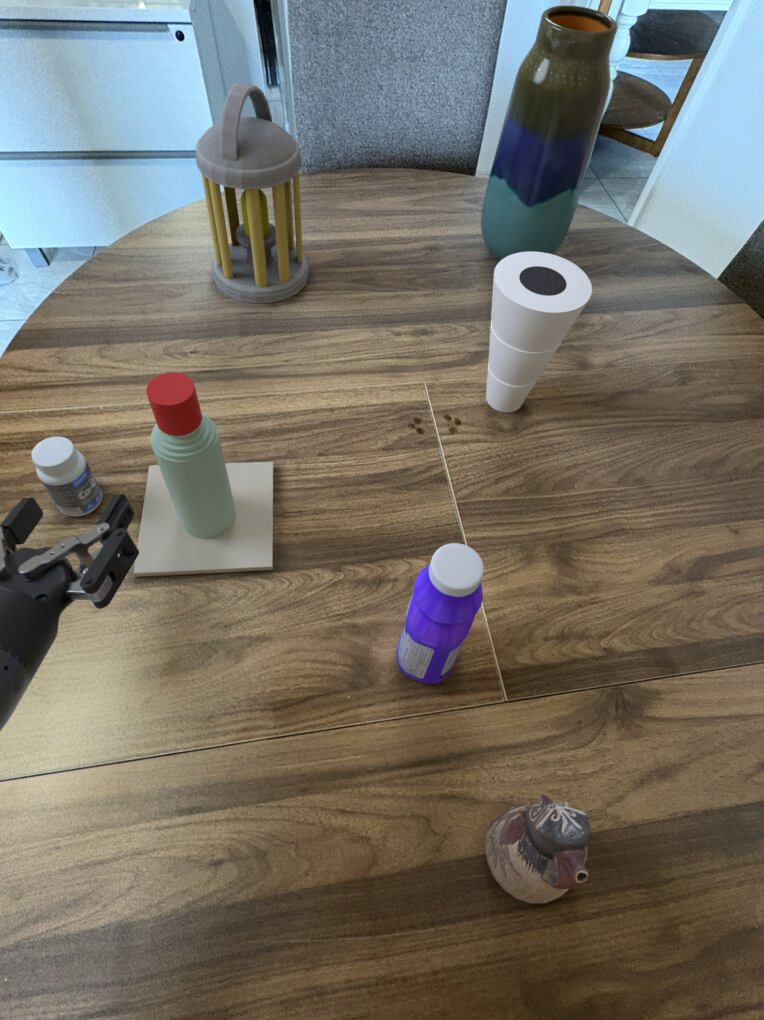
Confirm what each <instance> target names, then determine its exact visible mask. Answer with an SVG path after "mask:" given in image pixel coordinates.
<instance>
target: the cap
mask: <svg viewBox="0 0 764 1020" xmlns="http://www.w3.org/2000/svg"><path fill="white" fill-rule="evenodd" d="M145 392H146V396H147V399H148V402H149V405H150V408H151V411H152V414H153V417H154V419H155V420H154V421H155V424H156V423H157V426H158V428H159V429H160V430H161V431H162V432H164V433H165V434H168V435H171V436H183V435H187V434H189V433H191V432H193V431H195V430H196V429H197V428H198V427H199V426H200V424H201V422H202V413H203V412H202V409H201V405H200V402H199V398H198V397H199V396H198V393H197V390H196V386H195V382H194V380H193V379H192V378H191V377H190V376H188V374H187V375H186V374H185V373H181V372H176V371H175V372H174V371H171V372H170V371H169V372H165V373H161V374H159V375H157V376H155V377H154V378H152V379H151V380H150V381H149V382H148V384H147V386H146V391H145Z"/></svg>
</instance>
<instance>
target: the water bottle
mask: <svg viewBox="0 0 764 1020" xmlns="http://www.w3.org/2000/svg"><path fill="white" fill-rule="evenodd" d="M201 413H202V422H201V424H200V426H199V427H198V428H197V429H196V430H195V431H193V432H191V433H189V434H187V435H183V436H171V435H168V434H165V433H164V432H162V431H161V430H160V429H159V428H158V426H157V423H156V422H155V425H154V426H153V428H152V431H151V435H150V445H151V449H152V451H153V454H154V456H155V457H154V458H155V459H156V462H157V465H159V467H160V470H161V473H162V475H163V478H164V481H165V484H166V486H167V489H168V492H169V494H170V497H171V500H172V502H173V505H174V508H175V511H176V513H177V516H178V519H179V521H180V524H181V526H182V528H183V529H184V530H185V531H186V532H187V533H188V534H190V535H192V536H194V537H197V538H212V537H216V536H219V535H221V534H223V533H224V532H226V531H227V530H228V529H229V528H230V527H231V526H232V524H233V522H234V520H235V517H236V509H235V504H234V500H233V495H232V491H231V486H230V482H229V477H228V473H227V469H226V464H225V463H226V460H225V455H224V451H223V447H222V443H221V438H220V434H219V433H220V432H219V430H218V427H217V425H216V423H215V422H214V421H213V420H212V419H211V417H209V416H208V415H207V414H205V413H204V412H201Z"/></svg>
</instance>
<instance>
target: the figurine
mask: <svg viewBox="0 0 764 1020" xmlns="http://www.w3.org/2000/svg"><path fill="white" fill-rule="evenodd" d="M591 835H592V828H591V825H590V822H589V820H588V814H587V812H586V811H585V810H583V809H580V808H577V807H573V806H570V803H568V802H567V801H561V802H555V801H553V800H552V799H551V797H549V795H547V794H541V795H540V800H539V801H538V802H537V803H535V804H533V805H515V806H511V807H510V808H509V809H507V810H505V811H503V812H502V813H501V814H499V815H498V816H496V817H495V818H494V819H492V820H491V821H490V823H489V825H488V829H487V831H486V836H485V858H486V862H487V865H488V867H489V870H490V873H491V875H492V877H493V878H494V879H495V881H496V882H497V884H498V885H499V886H500V887H501V889H503V890H504V891H505V893H507V894H509V895H510V896H512V897H513V898H514V899H516V900H519V901H521V902H525V903H527V904H547V903H549V902H552V901H554V900H557V899H558V898H560V897H562V896H564V894H566V893H567V892H568V891H569V890H570V889H575V888H576V889H577V888H578V887H579V886H580V885H581V884H584V883H585V882H586V881H587V880H588V877H589V871H588V870H587V867H586V865H585V864H586V862H587V857H588V843H589V842H590V838H591Z"/></svg>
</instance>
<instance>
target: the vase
mask: <svg viewBox="0 0 764 1020" xmlns="http://www.w3.org/2000/svg"><path fill="white" fill-rule="evenodd" d="M540 16H541V17H540V21H539V24H538V29H537V34H536V36H535V41H534V43H533V44H532V46H531V48H530V49H529V51H528V52H527V54H526V55H525V57H524V58H523V60H522V62H520V63H521V64H520V65H519V67H518V69H517V73H516V76H515V79H514V82H513V86H512V90H511V94H510V98H509V101H508V105H507V109H506V113H505V115H504V116H505V117H504V120H503V124H502V128H501V131H500V135H499V139H498V143H497V147H496V151H495V153H494V158H493V162H492V166H491V169H490V173H489V177H488V180H487V181H488V182H487V185H486V189H485V192H484V193H485V194H484V197H483V201H482V202H483V203H482V208H481V216H480V230H481V235H482V238H483V241H484V244H485V245H486V248H487V250H488V251H489V253H490V254H491V255H492V256H493V258H496V259H497V260H498V261H499V262H500V261H501V260H502V259H504V258H505V257H507V256H509V255H512V254H515V253H520V252H543V253H549V254H553V255H554V254H555V252H556V251H558V249H559V248H560V247H561V245H562V244H563V242H564V240H565V238H566V236H567V234H568V232H569V230H570V227H571V224H572V222H573V219H574V216H575V212H576V209H577V207H578V203H579V200H580V196H581V192H582V189H583V187H584V182H585V179H586V175H587V171H588V168H589V165H590V161H591V158H592V154H593V150H594V147H595V144H596V140H597V136H598V133H599V130H600V126H601V122H602V119H603V116H604V113H605V108H606V104H607V101H608V97H609V94H610V90H611V89H610V88H611V64H610V55H611V51H612V48H613V46H614V41H615V38H616V35H617V32H618V24H617V22H616V20H615V19H613V18H612V17H611V16H610V15H608V14H606V13H604V12H601V11H599V10H597V9H593V8H589V7H584V6H578V5H555V6H551V7H549V8H547V9H545V10H544V11H543V12H542V13H541V15H540Z"/></svg>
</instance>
